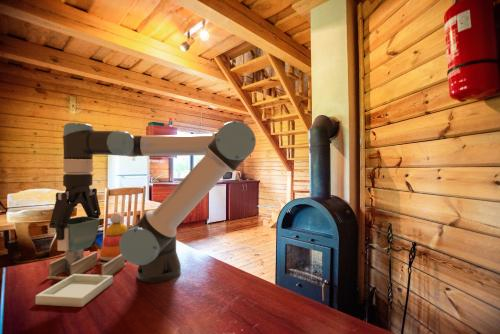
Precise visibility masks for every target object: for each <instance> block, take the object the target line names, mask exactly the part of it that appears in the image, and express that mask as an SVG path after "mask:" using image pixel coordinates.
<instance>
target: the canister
mask: <svg viewBox="0 0 500 334" xmlns="http://www.w3.org/2000/svg"><path fill="white" fill-rule="evenodd" d="M84 251H85V249H81V250H78V251H75V252H72V251H69V250H67V251H64V254H65V255H64V256H65V271H64V273H65V274H67V275H70V264H72V263H74V262H76V261H78V260H80V259H82V258H84V257H85V256H84V255H85V254H84Z"/></svg>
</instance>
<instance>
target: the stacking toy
mask: <svg viewBox="0 0 500 334" xmlns="http://www.w3.org/2000/svg"><path fill="white" fill-rule="evenodd" d="M109 219H110V220H109V221H110V223H112V224H110V225H109V226H108V227H107V228H106V231H105V236H104V237H103V242H102V247H101V249H100V252H99V253H98V257H99V259H100V260H102V261H107V262H109V261H111V260H112V259H114V258H115V257H117V256H119V255H120V254H121V252H120V246H119V243H120V239H121V237H122V235H123V234H124V233H125V232H126V231H127V230H128V229H129V228H128V226H127V225H126V224H124V223H122V222H123V214H122V213H121V212H118V211H114V212H112V214H111V215H110V218H109Z"/></svg>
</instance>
